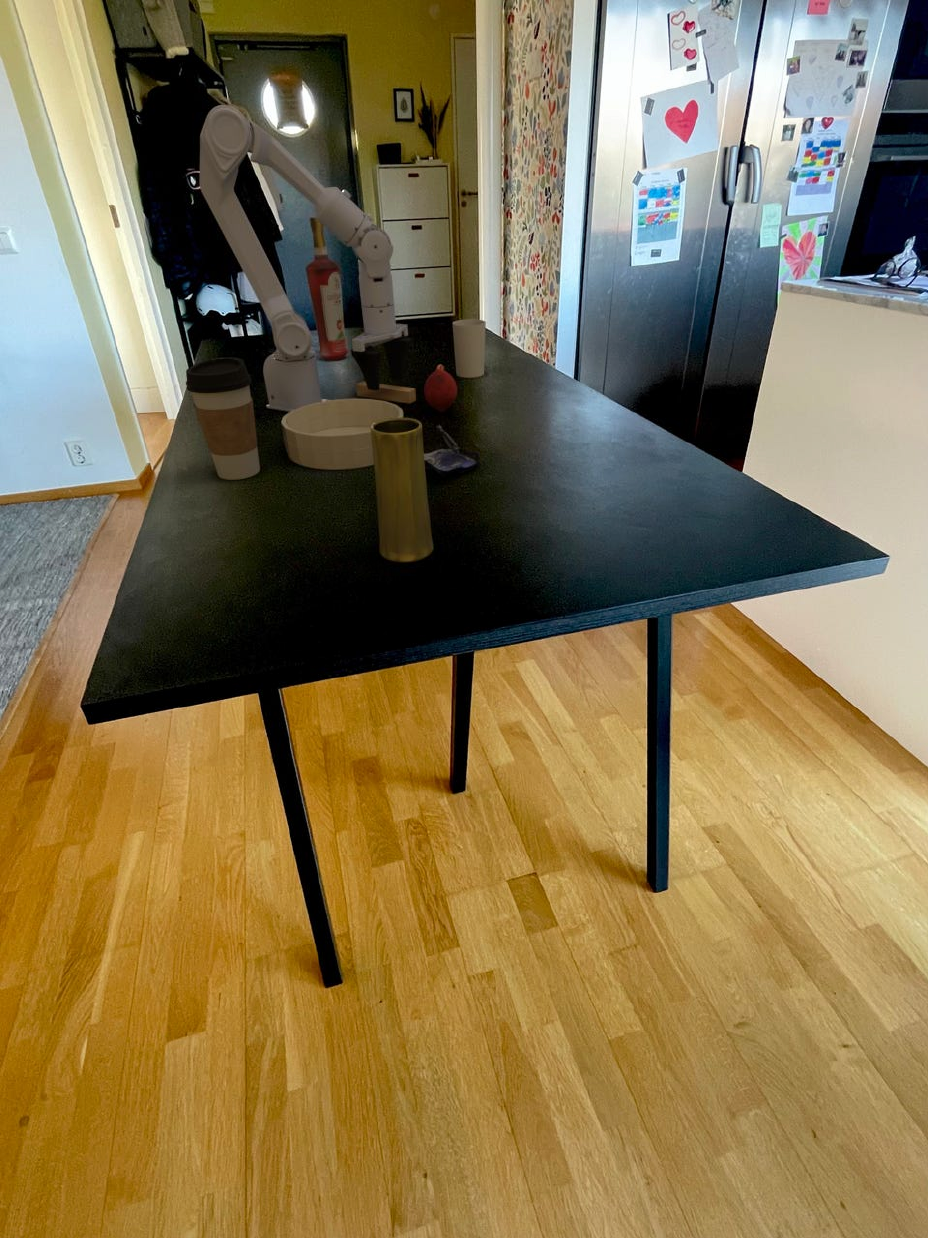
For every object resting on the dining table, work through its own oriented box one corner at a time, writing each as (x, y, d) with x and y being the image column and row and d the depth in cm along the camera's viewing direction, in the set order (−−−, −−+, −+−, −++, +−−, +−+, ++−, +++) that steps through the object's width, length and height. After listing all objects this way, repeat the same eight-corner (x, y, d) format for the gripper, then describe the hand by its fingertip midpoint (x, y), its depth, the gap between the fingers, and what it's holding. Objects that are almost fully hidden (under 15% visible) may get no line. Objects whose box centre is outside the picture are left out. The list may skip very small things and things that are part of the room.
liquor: (334, 352, 158) (316, 215, 142) (356, 356, 154) (341, 215, 138) (311, 359, 153) (290, 217, 137) (334, 363, 149) (315, 218, 134)
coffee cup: (280, 464, 98) (260, 358, 90) (247, 486, 91) (222, 373, 83) (232, 459, 100) (208, 355, 92) (196, 479, 94) (167, 370, 85)
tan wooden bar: (357, 396, 127) (355, 384, 126) (364, 393, 129) (362, 381, 127) (409, 403, 122) (408, 391, 121) (416, 400, 124) (415, 388, 122)
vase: (380, 539, 77) (367, 417, 69) (432, 536, 78) (425, 414, 70) (378, 565, 72) (364, 436, 64) (435, 561, 72) (427, 433, 64)
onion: (453, 417, 114) (452, 369, 110) (421, 416, 115) (418, 368, 111) (460, 407, 119) (459, 361, 115) (429, 406, 120) (427, 360, 116)
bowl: (262, 457, 101) (255, 425, 98) (337, 423, 114) (333, 393, 111) (358, 477, 93) (354, 443, 90) (427, 438, 106) (425, 406, 103)
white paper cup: (486, 377, 136) (485, 325, 130) (453, 378, 136) (452, 326, 130) (486, 369, 141) (485, 318, 135) (454, 370, 141) (453, 319, 136)
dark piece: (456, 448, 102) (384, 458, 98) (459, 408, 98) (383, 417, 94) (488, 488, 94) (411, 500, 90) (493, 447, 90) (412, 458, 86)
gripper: (372, 313, 109) (380, 396, 117) (419, 299, 120) (424, 376, 127) (338, 310, 112) (348, 392, 120) (387, 297, 123) (393, 373, 130)
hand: (385, 384), depth 124 cm, fingers open, 7 cm apart
